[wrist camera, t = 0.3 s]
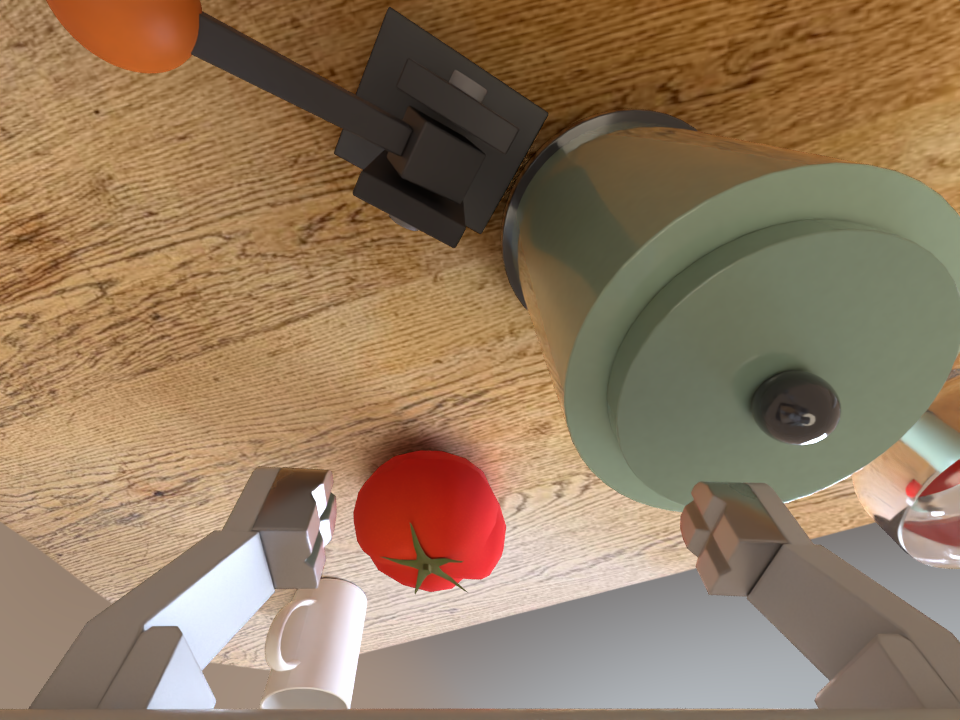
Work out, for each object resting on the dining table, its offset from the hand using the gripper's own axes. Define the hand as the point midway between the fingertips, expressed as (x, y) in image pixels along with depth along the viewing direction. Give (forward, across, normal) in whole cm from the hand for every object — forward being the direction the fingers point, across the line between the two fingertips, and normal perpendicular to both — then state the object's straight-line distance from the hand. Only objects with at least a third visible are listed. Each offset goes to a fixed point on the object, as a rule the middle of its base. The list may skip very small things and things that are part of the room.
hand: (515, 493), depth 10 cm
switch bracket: (+24, +3, -4) cm, 24 cm away
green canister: (+24, -9, +1) cm, 26 cm away
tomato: (+23, +2, +24) cm, 33 cm away
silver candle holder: (+24, -32, +10) cm, 42 cm away
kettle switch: (+13, +8, -7) cm, 16 cm away
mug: (+22, +14, +41) cm, 48 cm away
